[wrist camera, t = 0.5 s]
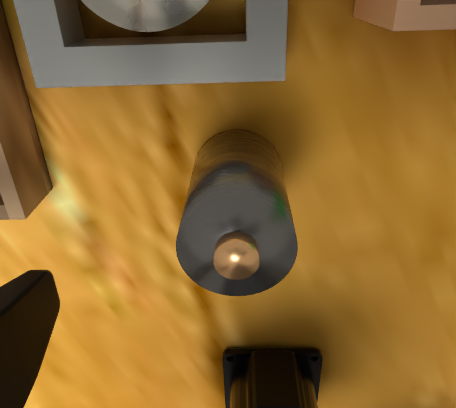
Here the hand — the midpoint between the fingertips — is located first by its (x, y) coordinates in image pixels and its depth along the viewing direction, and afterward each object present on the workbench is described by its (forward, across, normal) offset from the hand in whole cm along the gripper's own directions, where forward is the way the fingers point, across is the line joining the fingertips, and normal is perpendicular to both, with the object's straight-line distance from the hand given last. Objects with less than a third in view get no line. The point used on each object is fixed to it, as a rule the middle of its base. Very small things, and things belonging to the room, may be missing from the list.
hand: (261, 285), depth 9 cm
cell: (+12, +1, +2) cm, 12 cm away
